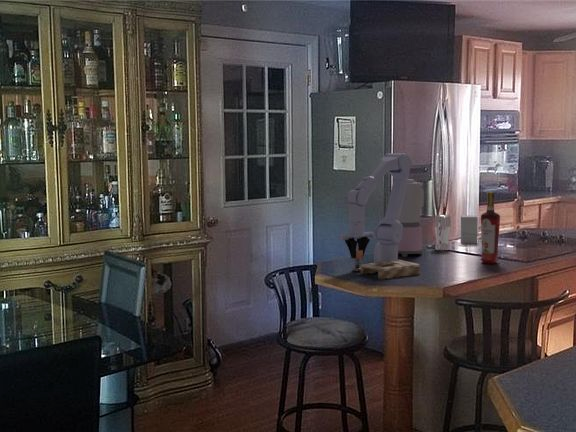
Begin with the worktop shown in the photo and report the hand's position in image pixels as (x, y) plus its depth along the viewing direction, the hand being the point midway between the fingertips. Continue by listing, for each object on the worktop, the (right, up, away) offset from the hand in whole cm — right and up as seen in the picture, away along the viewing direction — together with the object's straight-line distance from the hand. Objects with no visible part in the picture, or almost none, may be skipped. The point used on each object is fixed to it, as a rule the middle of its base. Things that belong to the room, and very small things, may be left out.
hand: (357, 257), depth 266 cm
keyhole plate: (+12, -6, -6) cm, 14 cm away
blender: (+26, -1, +37) cm, 45 cm away
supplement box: (+59, +3, +67) cm, 89 cm away
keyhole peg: (0, -5, +1) cm, 5 cm away
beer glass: (+43, +1, +48) cm, 64 cm away
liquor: (+54, -3, +13) cm, 55 cm away
